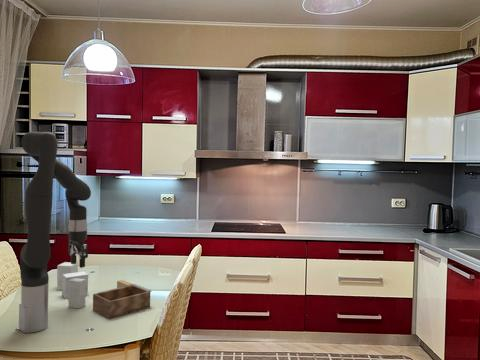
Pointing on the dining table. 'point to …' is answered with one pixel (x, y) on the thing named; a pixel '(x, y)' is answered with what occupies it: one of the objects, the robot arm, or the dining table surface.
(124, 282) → the lid
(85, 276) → the skincare box
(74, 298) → the skincare box
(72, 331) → the dining table surface
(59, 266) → the supplement box
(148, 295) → the box
